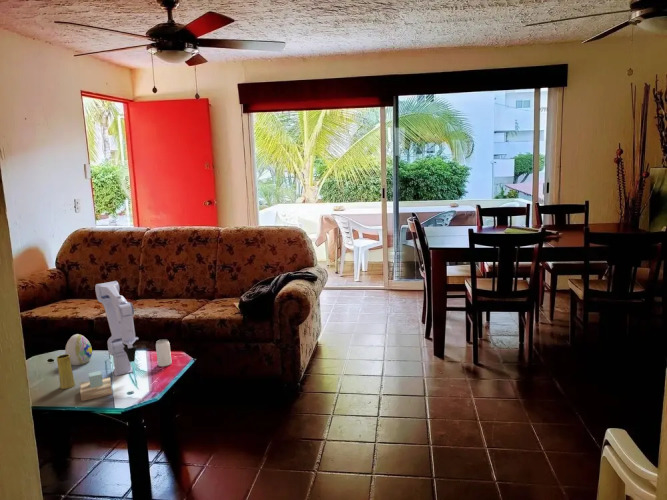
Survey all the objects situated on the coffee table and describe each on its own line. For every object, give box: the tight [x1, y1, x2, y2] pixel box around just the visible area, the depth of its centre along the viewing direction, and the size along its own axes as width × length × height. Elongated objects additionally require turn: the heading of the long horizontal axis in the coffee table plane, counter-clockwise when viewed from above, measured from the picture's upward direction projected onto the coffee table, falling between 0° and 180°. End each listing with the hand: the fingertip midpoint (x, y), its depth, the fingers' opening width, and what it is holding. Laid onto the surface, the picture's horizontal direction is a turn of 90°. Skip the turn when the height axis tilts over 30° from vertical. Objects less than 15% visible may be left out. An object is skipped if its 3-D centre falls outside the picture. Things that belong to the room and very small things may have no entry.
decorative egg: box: [64, 333, 93, 366], centre depth 267 cm, size 12×12×15 cm
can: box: [155, 338, 173, 368], centre depth 256 cm, size 6×6×12 cm
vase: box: [56, 354, 76, 390], centre depth 236 cm, size 6×6×14 cm
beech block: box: [79, 376, 113, 402], centre depth 228 cm, size 12×12×4 cm
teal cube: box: [88, 370, 103, 388], centre depth 227 cm, size 5×5×5 cm
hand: (131, 358), depth 237 cm, fingers open, 7 cm apart
